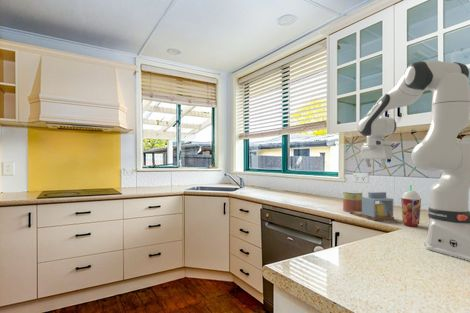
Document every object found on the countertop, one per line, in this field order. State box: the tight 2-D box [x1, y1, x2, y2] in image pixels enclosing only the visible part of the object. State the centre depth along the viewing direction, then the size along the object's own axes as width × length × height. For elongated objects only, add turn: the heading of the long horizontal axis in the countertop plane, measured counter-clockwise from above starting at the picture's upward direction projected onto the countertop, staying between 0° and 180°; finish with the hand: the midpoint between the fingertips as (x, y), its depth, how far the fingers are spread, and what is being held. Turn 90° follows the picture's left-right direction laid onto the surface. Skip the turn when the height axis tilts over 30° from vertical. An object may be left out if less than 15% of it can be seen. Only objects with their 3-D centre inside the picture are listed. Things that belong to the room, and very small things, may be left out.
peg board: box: [349, 211, 395, 222], centre depth 152 cm, size 19×13×4 cm
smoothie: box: [400, 184, 422, 228], centre depth 132 cm, size 8×8×20 cm
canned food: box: [342, 190, 363, 213], centre depth 169 cm, size 11×11×12 cm
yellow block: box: [375, 203, 384, 217], centre depth 147 cm, size 4×4×6 cm
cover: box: [362, 191, 394, 217], centre depth 148 cm, size 9×13×12 cm
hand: (375, 167), depth 150 cm, fingers open, 8 cm apart
